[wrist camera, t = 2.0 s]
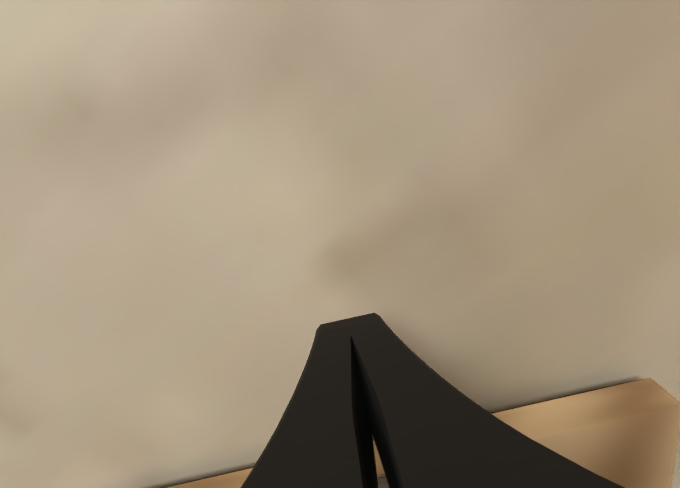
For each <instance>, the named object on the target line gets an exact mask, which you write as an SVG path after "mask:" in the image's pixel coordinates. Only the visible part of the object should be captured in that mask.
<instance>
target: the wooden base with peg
mask: <svg viewBox="0 0 680 488" xmlns="http://www.w3.org/2000/svg"><path fill="white" fill-rule="evenodd" d="M492 415H494V416H495V417H497V418H498V419H500V420H501V421H503V422H505V423H506V424H508V425H509V426H511V427H513V428H514V429H516V430H518V431H519V432H521V433H522V434H524V435H526V436H527V437H529V438H531V439H532V440H534V441H536V442H538V443H540V444H542V445H543V446H545V447H547V448H549V449H551V450H553V451H554V452H556V453H558V454H560V455H562V456H564V457H565V458H567V459H569V460H571V461H573V462H575V463H577V464H578V465H580V466H582V467H584V468H586V469H588V470H590V471H591V472H593V473H595V474H597V475H599V476H601V477H603V478H606V479H608V480H610V481H612V482H614V483H616V484H618V485H620V486H622V487H625V488H671V484H672V478H673V471H674V464H675V458H676V451H677V445H678V438H679V431H680V402H679V401H678V400H677V399H676V398H674V397H673V396H672V395H671V394H669V393H668V392H667V391H666V390H665V389H663V388H662V387H661V386H660V385H658V384H657V383H656V382H655V381H654V380H652V379H651V378H647V379H642V380H638V381H634V382H629V383H625V384H620V385H616V386H612V387H607V388H603V389H598V390H594V391H590V392H585V393H581V394H576V395H572V396H568V397H563V398H559V399H554V400H550V401H545V402H541V403H537V404H532V405H528V406H523V407H519V408H515V409H510V410H506V411H501V412H497V413H493V414H492ZM373 444H374V453H375V462H376V470H377V478H378V477H382V476H385V473H384V470H383V467H382V463H381V460H380V457H379V454H378V451H377V448H376V444H375V441H373ZM252 469H253V468H250V469H246V470H241V471H237V472H233V473H228V474H224V475H219V476H215V477H211V478H206V479H202V480H197V481H193V482H189V483H184V484H180V485H175V486H171V487H167V488H240V487H241V486H242V484H243V483H244V481H245V480H246V478H247V477H248V475H249V474H250V472H251V471H252Z"/></svg>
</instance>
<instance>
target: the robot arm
mask: <svg viewBox="0 0 680 488" xmlns="http://www.w3.org/2000/svg"><path fill="white" fill-rule="evenodd" d="M372 435H373V436H372ZM373 438H374V441H375V444H376V448H377V451H378V454H379V457H380V460H381V463H382V467H383V470H384V473H385V476H386V479H387V482H388V485H389V488H625V487H622V486H620V485H618V484H616V483H614V482H612V481H610V480H608V479H606V478H603V477H601V476H599V475H597V474H595V473H593V472H591V471H590V470H588V469H586V468H584V467H582V466H580V465H578V464H577V463H575V462H573V461H571V460H569V459H567V458H565V457H564V456H562V455H560V454H558V453H556V452H554V451H553V450H551V449H549V448H547V447H545V446H543V445H542V444H540V443H538V442H536V441H534V440H532V439H531V438H529V437H527V436H526V435H524V434H522V433H521V432H519V431H518V430H516V429H514V428H513V427H511V426H509V425H508V424H506V423H505V422H503V421H501V420H500V419H498V418H497V417H495V416H494V415H492V414H491V413H489V412H488V411H486V410H485V409H483V408H482V407H481V406H479V405H478V404H476V403H475V402H473V401H472V400H471V399H469V398H468V397H467V396H465V395H464V394H463V393H461V392H460V391H458V390H457V389H456V388H455V387H453V386H452V385H451V384H450V383H448V382H447V381H446V380H445V379H443V378H442V377H441V376H440V375H438V374H437V373H436V372H435V371H434V370H432V369H431V368H430V367H429V366H428V365H427V364H426V363H424V362H423V361H422V360H421V359H420V358H419V357H418V356H417V355H416V354H414V353H413V352H412V351H411V350H410V349H409V348H408V347H407V346H406V345H405V344H404V343H403V342H402V341H401V340H400V339H399V338H398V337H397V336H396V335H395V334H394V333H393V332H392V330H391V329H390V328H389V327H388V326H387V325H386V324H385V322H384V321H383V320H382V318H381V317H380V316H379V315H377V314H375V313H371V314H367V315H362V316H358V317H353V318H349V319H344V320H339V321H335V322H330V323H326V324H321V325H320V326H319V327H318V329H317V330H316V335H315V339H314V342H313V345H312V348H311V351H310V354H309V357H308V360H307V363H306V365H305V368H304V370H303V372H302V375H301V377H300V380H299V382H298V384H297V387H296V389H295V391H294V394H293V396H292V398H291V400H290V402H289V404H288V406H287V408H286V410H285V412H284V414H283V416H282V418H281V420H280V422H279V424H278V426H277V428H276V430H275V432H274V433H273V435H272V437H271V439H270V441H269V442H268V444H267V446H266V448H265V449H264V451H263V453H262V454H261V456H260V458H259V459H258V461H257V462H256V464H255V466H254V467H253V469H252V471H251V472H250V474H249V475H248V477H247V478H246V480H245V481H244V483H243V484H242V486H241V487H240V488H378V479H377V470H376V462H375V453H374V444H373Z"/></svg>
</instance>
